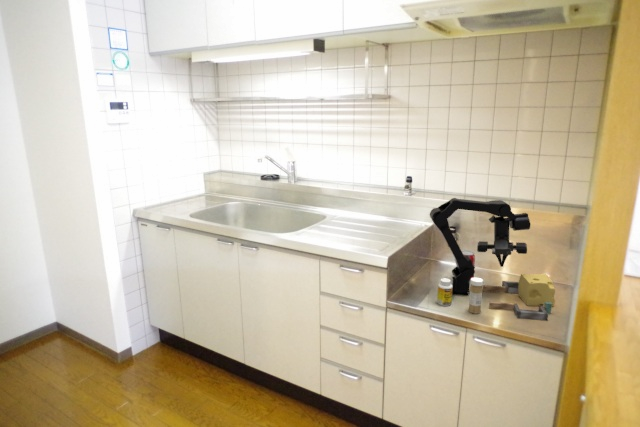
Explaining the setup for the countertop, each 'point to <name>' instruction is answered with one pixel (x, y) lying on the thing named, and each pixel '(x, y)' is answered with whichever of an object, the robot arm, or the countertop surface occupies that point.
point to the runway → (520, 313)
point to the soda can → (471, 256)
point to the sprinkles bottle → (475, 295)
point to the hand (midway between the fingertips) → (501, 266)
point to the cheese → (536, 289)
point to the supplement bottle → (445, 292)
